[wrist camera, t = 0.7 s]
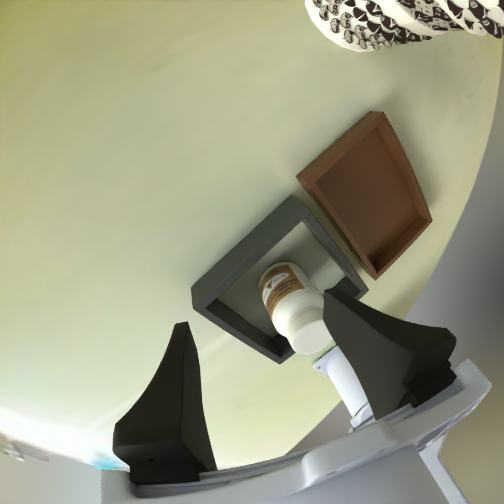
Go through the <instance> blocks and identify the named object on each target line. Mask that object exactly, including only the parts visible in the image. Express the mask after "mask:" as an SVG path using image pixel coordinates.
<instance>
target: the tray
mask: <svg viewBox="0 0 504 504" xmlns="http://www.w3.org/2000/svg"><path fill="white" fill-rule="evenodd" d="M296 178H297V179H298V180H299V182H300V183H301V184H302V185H303V187H304V188H305V189H306V190H307V192H308V193H309V194H310V195H311V197H312V198H313V199H314V201H315V202H316V203H317V205H318V206H319V207H320V208H321V210H322V211H323V212H324V214H325V215H326V216H327V218H328V219H329V220H330V222H331V223H332V224H333V226H334V227H335V229H336V230H337V231H338V233H339V234H340V235H341V237H342V238H343V240H344V241H345V242H346V244H347V245H348V247H349V248H350V250H351V251H352V252H353V254H354V255H355V257H356V258H357V260H358V261H359V263H360V264H361V266H362V267H363V269H364V270H365V272H366V273H368V274H369V275H370V276H371V277H372V278H373V279H374V280H377V279H378V278H379V277H380V276H381V275H382V274H383V273H384V272H385V271H386V270H387V269H388V268H389V267H390V266H391V265H392V264H393V263H394V262H395V261H396V260H397V259H398V258H399V257H400V256H401V255H402V254H403V253H404V252H405V251H406V250H407V248H408V247H409V246H410V245H411V244H412V243H413V242H414V241H415V240H416V239H417V238H418V237H419V236H420V235H421V233H422V232H423V231H424V230H425V229H426V228H427V227H428V226H429V224H430V223H431V222H432V221H433V220H432V218H431V214H430V212H429V209H428V206H427V203H426V201H425V198H424V195H423V193H422V190H421V188H420V185H419V183H418V181H417V178H416V176H415V174H414V171H413V169H412V167H411V164H410V162H409V160H408V158H407V156H406V154H405V152H404V150H403V147H402V145H401V143H400V141H399V139H398V137H397V136H396V134H395V132H394V130H393V128H392V126H391V124H390V122H389V121H388V119H387V118H386V115H385V114H384V112H374V111H370V112H369V113H368V114H366V115H365V116H364V117H363V118H362V119H361V120H359V121H358V122H357V123H356V124H355V125H354V126H352V127H351V128H350V129H349V130H348V131H347V132H345V133H344V134H343V135H342V136H341V137H340V138H339V139H337V140H336V141H335V142H334V143H333V144H332V145H331V146H329V147H328V148H327V149H326V150H325V151H324V152H323V153H322V154H320V155H319V156H318V157H317V158H316V159H315V160H314V161H312V162H311V163H310V164H309V165H308V166H307V167H306V168H305V169H304V170H302V171H301V172H300V173H299V174H298V175H297V176H296Z"/></svg>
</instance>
